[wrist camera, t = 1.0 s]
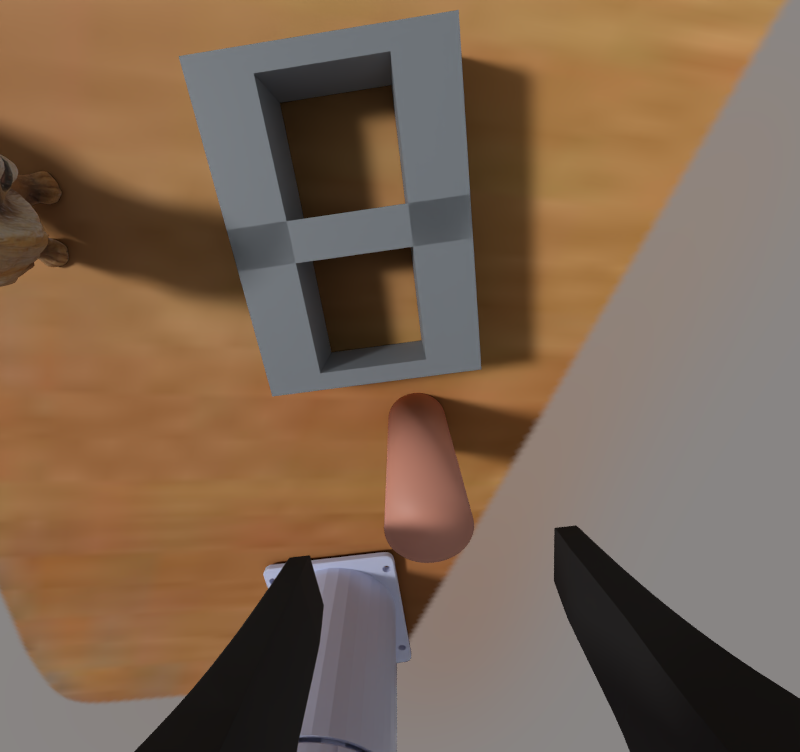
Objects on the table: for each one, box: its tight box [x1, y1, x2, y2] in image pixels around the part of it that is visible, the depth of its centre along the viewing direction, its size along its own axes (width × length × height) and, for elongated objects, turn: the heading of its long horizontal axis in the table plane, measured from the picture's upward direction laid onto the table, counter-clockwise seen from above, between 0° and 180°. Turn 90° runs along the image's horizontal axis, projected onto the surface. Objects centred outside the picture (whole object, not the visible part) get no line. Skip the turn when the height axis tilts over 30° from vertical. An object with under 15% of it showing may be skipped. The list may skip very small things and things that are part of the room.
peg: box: [384, 393, 474, 563], centre depth 17 cm, size 3×3×8 cm
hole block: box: [179, 10, 481, 396], centre depth 16 cm, size 12×9×3 cm
